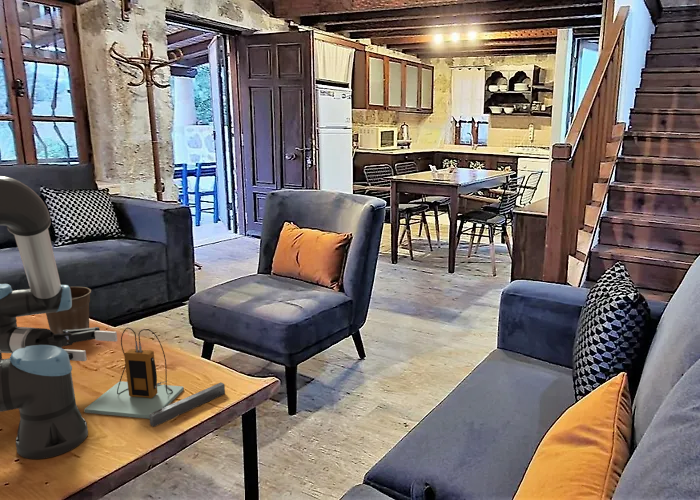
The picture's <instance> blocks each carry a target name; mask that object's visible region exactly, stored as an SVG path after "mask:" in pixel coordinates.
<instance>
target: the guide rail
mask: <svg viewBox="0 0 700 500" xmlns="http://www.w3.org/2000/svg"><path fill="white" fill-rule="evenodd" d="M225 388H226V387H225V383H223V382H218V383H216V384H214V385H211V386H209V387H207V388H205V389H203V390H200V391H199V392H196V393H194V394H191V395H189V396H187V397H185V398H182V399H180V400H177V401H175V402H173V403H170V404H169V405H168V406H166V407H164V408H162V409H160V410H157V411H155V412H153V413H151V414H149V418H150V419H149V426H151V427H153V428H154V427H157V426H160V425H161V424H163V423H165V422H166V423H167V421H168V422H169V420H172V419H175V418H176V417H178V416H181V415H182V414H185V413H187V412H189V411H191V410H193V409H195V408H198V407H200V406H202V405H204V404H206V403H209V402H210V401H212V400H215V399H217V398H219V397H221V396H223V395H225V394H226V389H225Z"/></svg>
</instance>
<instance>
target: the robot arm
mask: <svg viewBox="0 0 700 500" xmlns="http://www.w3.org/2000/svg"><path fill="white" fill-rule="evenodd" d="M51 223H52V221H51V216H50V212H49V210H48V207H47V205H46V203H45V202H44V201H43V199H42V198H41V197H40V196H39V195H38V194H37V193H36V191H34V190H33V189H32V188H30V186H29V185H26V184H25V183H23V182H21V181H20V180H18V179H15V178H12V177H8V176H5V175H4V176H3V175H0V226H6V229H7V231H8V232H9V233H10V234H12V235H13V236H14V239H15V243H16V246H17V249H18V252H19V256H20V259H21V262H22V266H23V269H24V273H25V275H26V279H27V282H28V286H29V288H25V289H17V290H16V289H15V290H13V288H12V285H10V284H8V283H0V413H1V412H6V411H12V410H13V411H14V410H18V411H19V417H20V418H19V424H18V429H17V433H16V435H17V436H16V438H15V447H16V448H15V449H16V452H17V454H18V456H20V457H22V458H24V459H29V460H30V459H32V460H41V459H48V458H53V457H57V456H60V455H62V454H63V455H64V454H65V453H67V452H70V451H72V450H73V449H75V448H77V447H79V445H81V444H82V443H83V442H84V441H85V440H86V439H87V436H88V435H89V430H88V424H87V423H88V422H87V421H86V419H85V418H84V417H82V413H81V410H80V408H79V407H78V405H77V403H76V397H75V396H76V395H75V389H74V381H73V375H72V371H73V366H72V365H71V361H75V362H77V361H78V362H86V361H87V360H88V359H87V352H86V350H85V349H84V350H81V349H66V348H65V349H64V348H63V347H66V346H72V345H73V344H74V343H80V342H85V341H91V340H95V341H100V342H101V341H102V342H118V333H117V331H109V330H108V331H107V330H100V327H99V326H94V327H89V328H85V329H75V330H63V334H60V333H58V334H54V333H53V332H52V331H51V330H50V328H46V327H44V328H43V327H42V328H41V327H31V326H29V327H27V326H18V324H17V318H20V317H25V316H27V317H28V316H33V315H35V316H36V315H43V314H46V313H53V312H59V311H64V310H69V309H70V308H71V307H72V297H71V290H70V287H71V286H69V284H61V280H60V275H59V271H58V266H57V262H56V257H55V253H54V249H53V245H52V240H51V236H50V231H49V228H50V226H51ZM67 340H69V342H67ZM2 354H10V356H9V357H8V358H3V355H2Z"/></svg>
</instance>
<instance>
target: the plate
mask: <svg viewBox="0 0 700 500" xmlns="http://www.w3.org/2000/svg"><path fill="white" fill-rule="evenodd" d="M119 382H120V380H119V381H118V382H117V383H115V384H114V385H113V386H111V387H110V388H109V389H107V391H105V392H104V393H103V394H101V395H100V396H99V397H97V399H95V400H94V401H93V402H91V403H90V404H89V405H87V406H86V407H85V408H83V409H84V410H83V411H84V414H96V415H105V416H107V415H108V416H117V417H126V418H137V419H138V418H139V419H148V420H150V418H149V414H151V413H153V412H155V411H157V410H160V409H162V408H164V407H166V406H169V405H171V404H172V402H173V401H174V400H175V399H176V398H177V397H179V395H180V394H181V393H182V392H183V391H184V385H183V386H182V385H181V386H180V385H169V384H167V386H168V387H170V388H171V390H172V391H173V393H171V392H172V391H171V390H169V389H168V388H167V392H166V386H165V385H166V384H165V385H164V384H159V385H157V391H158V393H157V394H156V395H155V396H154V397H153V398H146V397H131V396H129V391H128V390H126V389H128V383H127V381H122V380H121V382H120V385H119ZM118 385H119V389H118ZM117 389H118V393H120V392H122V391H124V390H126V391H124V392H122V393H120V394H117ZM167 393H168V394H169V393H171V394H169V395H168V394H167Z"/></svg>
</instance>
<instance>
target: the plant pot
mask: <svg viewBox="0 0 700 500" xmlns="http://www.w3.org/2000/svg"><path fill="white" fill-rule="evenodd" d="M69 287H70V290H71V297H72V307H71V308H70V309H69V310H64V311H59V312H53V313H45V315H46V320H47V324H48V327H49V328H48V329H49V330H51V331H52V332H53V333H54V334H58V333H60V334H63V330H75V329H85V328H90V302H91V293H92V289H91V288H89V287H87V286H86V287H85V286H69ZM67 342H69V340H67Z"/></svg>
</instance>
